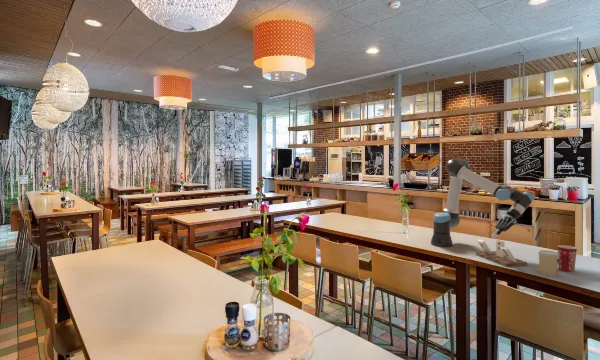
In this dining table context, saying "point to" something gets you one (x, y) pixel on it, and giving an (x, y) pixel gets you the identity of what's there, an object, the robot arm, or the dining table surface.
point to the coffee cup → (548, 262)
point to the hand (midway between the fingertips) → (492, 237)
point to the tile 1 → (484, 246)
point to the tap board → (500, 259)
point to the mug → (567, 258)
